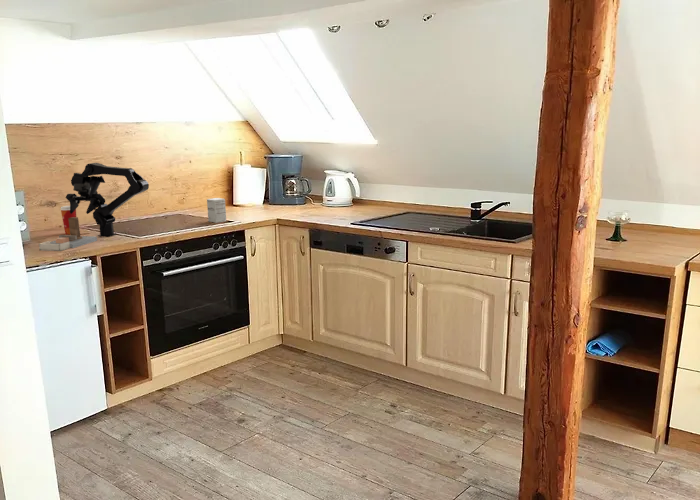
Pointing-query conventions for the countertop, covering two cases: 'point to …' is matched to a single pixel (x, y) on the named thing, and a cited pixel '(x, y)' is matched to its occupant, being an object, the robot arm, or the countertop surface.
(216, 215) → the supplement box
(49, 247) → the tray
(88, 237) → the board
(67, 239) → the tile
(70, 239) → the scraper
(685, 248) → the countertop surface
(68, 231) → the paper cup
